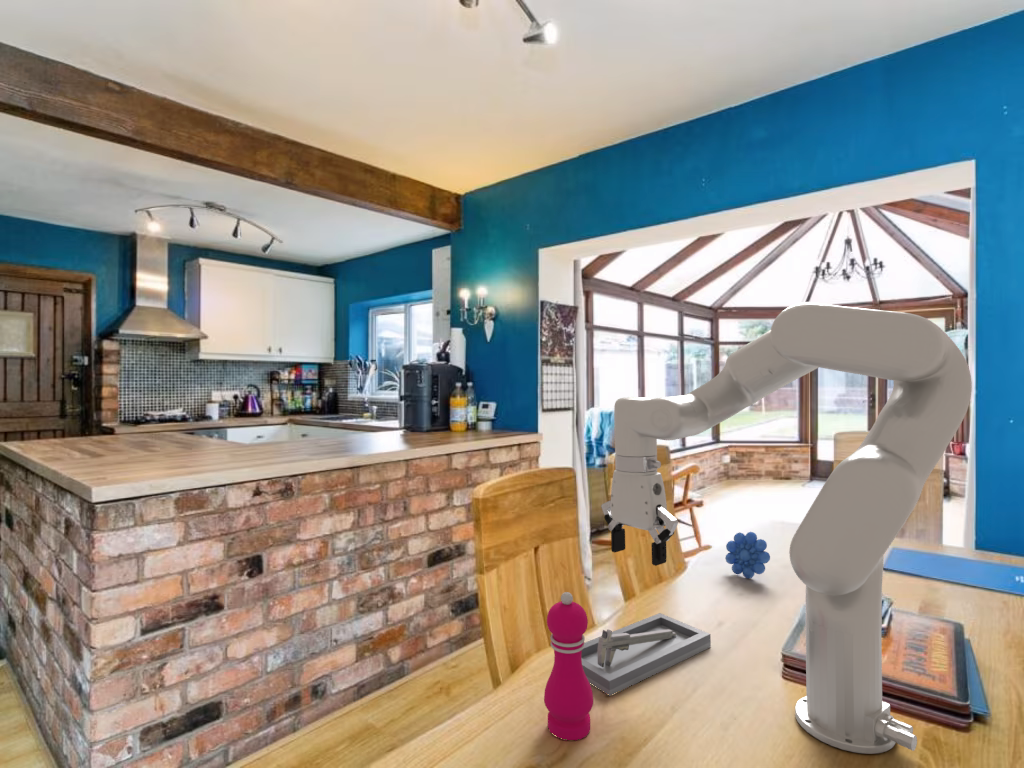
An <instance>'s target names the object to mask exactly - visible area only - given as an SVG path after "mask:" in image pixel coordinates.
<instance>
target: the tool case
mask: <svg viewBox="0 0 1024 768" xmlns="http://www.w3.org/2000/svg"><path fill="white" fill-rule="evenodd" d="M667 629H669V630H672V631H673V632H674V633H676V634H677V635H675V636H672V639H666V640H659V641H652V642H646V643H640V644H633V645H629V649H628V650H623V651H622V650H619V649H616V651H615V654H614V657H613V660H612V663H611V665H610V666H607V665H605V662H604V667H601V666H600V665H598V653H597V648H598V643H599V637H601V636H602V635H600V636H599V637H596V638H593V639H590V640H589V641H586V642H585V641H584V643H585V647H584V648H583V650H582V653H581V659H582V667H583V670H584V672H585V675H586V677H587V679H588V681H589V683H591V684H593V685H594V686H596V687H597V688H599V689H601V690H602V691H604V692H605V693H607V694H609V696H608V697H611V696H610V695H612V694H614V693H616V692H618V691H620V692H622V691H624V690H626V689H628V688H630V687H632V686H634V685H636V684H638V683H640V681H641V682H643V681H644V679H645V680H646V678H647V679H649V678H651V677H653V676H655V675H657V674H658V673H661V672H663V671H664V670H666V669H669V668H671V667H673V666H675V665H677V664H680V663H682V662H684V661H685V660H688V659H689V658H691V657H693V656H696V655H697V654H700V653H702V652H703V651H706V650H708V649H710V648H711V646H712V645H711V643H712V642H711V633H709V632H707V631H705V630H702V629H699V628H697V627H695V626H692V625H690V624H688V623H685V622H683V621H680V620H678V619H676V618H673V617H671V616H668V615H665V614H663V613H661V612H659V613H657V614H654V615H652V616H648V617H645V618H643V619H641V620H639V621H636V622H634V623H631V624H628V625H626V626H624V627H621V628H618V629H616V630H612V634H620V633H628V634H630V635H631V634H638V633H645V632H652V631H659V630H667ZM606 651H607V650H606ZM605 657H606V656H605ZM605 660H606V659H605ZM656 673H657V674H656ZM652 675H653V676H652ZM648 677H649V678H648ZM642 680H643V681H642ZM631 685H632V686H631ZM594 686H593V687H594ZM629 686H630V687H629ZM627 687H628V688H627ZM597 688H596V689H597ZM625 688H626V689H625ZM623 689H624V690H623ZM621 690H622V691H621ZM602 691H601V692H602ZM605 693H604V694H605ZM618 693H619V692H618ZM616 694H617V693H616ZM614 695H615V694H614ZM612 696H613V695H612Z"/></svg>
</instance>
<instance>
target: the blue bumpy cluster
mask: <svg viewBox="0 0 1024 768" xmlns="http://www.w3.org/2000/svg"><path fill="white" fill-rule="evenodd" d="M725 546H726V550H727V552H728V553H727V554H726V555H725V562H726V563H727V564H729V565H731V570H732V573H733V574H735V575H741V574H742V576H743V577H744V578H745V579H752V578H753V577H754V576H755V574H757V575H762V574H763V573H764V572H765V571H766V566H765V564H767V563H769V562H770V560H771V556H770V553H769V552H768V551H765V550H766V549H767V546H768V543H767V541H766V540H764V539H762V538H760V539H759V538H758V536H757V533H755V532H753V531H749V532H747V533H746V534H744V533H742V532H739V531H738V532H736V534H735V535H734V536H733V540H730V541H728V542H727V543H726V545H725Z"/></svg>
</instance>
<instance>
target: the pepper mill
mask: <svg viewBox="0 0 1024 768" xmlns="http://www.w3.org/2000/svg"><path fill="white" fill-rule="evenodd" d="M560 600H561V601H558V602H557V603H556V602H555V604H553V605H552V606H551V607H550V609H549V610H548V612H547V616H546V625H547V628H548V631H549V632H550V633H551V635H550V647H551V649H553V652H554V657H553V658H554V660H553V661H554V662H553V667H552V669H551V672H550V674H549V677H548V680H547V681H546V685H545V688H544V694H543V695H544V697H543V700H544V705H545V708H546V710H547V711H548V713H547V729H548V728H549V729H548V731H549V730H550V731H549V733H550V732H551V733H553V734H554V735H556V736H557V737H559V738H562V739H567V740H575V741H579V740H582V739H583V738H586V737H587V736H588V735H589V733H590V732H591V715H590V712H591V710H592V709H593V706H594V695H593V694H594V693H593V689H592V685H590V683H589V681H588V679H587V677H586V675H585V672H584V670H583V667H582V659H581V653H582V650H583V648H584V647H585V635H584V634H585V633H586V630H587V629H588V624H589V623H588V621H589V620H588V615H587V613H586V610H585V609H584V608H583V606H582V605H580V604H579V603H577V602H575V601H574V597H573V595H572V593H570V592H567V591H565V592H562V593H561V596H560ZM551 733H550V734H551ZM557 737H556V738H557ZM559 738H558V739H559ZM562 739H561V740H562ZM578 739H579V740H578ZM567 740H566V741H567Z"/></svg>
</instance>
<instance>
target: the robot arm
mask: <svg viewBox="0 0 1024 768" xmlns="http://www.w3.org/2000/svg"><path fill="white" fill-rule="evenodd" d="M819 368H821V369H827V370H832V371H837V372H842V373H843V372H844V373H848V374H855V375H861V376H865V377H872V378H876V379H877V378H878V379H882V380H887V381H888V380H889V381H893V386H892V391H891V394H890V396H889V398H888V399H887V401H886V403H885V405H884V406H883V407H882V409H881V410H880V412H879V413H878V416H877V417H876V420H875V421H874V423H873V425H872V427H871V428H870V430H869V431H868V433H867V435H866V436H865V437H864V439H863V440H862V443H861V444H860V446H859V447H858V448H857V449H856V450H855V451H854V452H853V453H852V454H850V455H849V456H846V458H844V459H843V460H842V461H840V462H839V463H838V464H837V465H836V466H835V468H834V469H833V470H832V472H831V473H830V475H829V476H828V477H827V479H826V481H825V482H824V484H823V486H822V487H821V489H820V491H819V492H818V494H817V496H816V497H815V500H814V501H813V502H812V504H811V506H810V507H809V509H808V511H807V513H806V514H805V516H804V517H803V519H802V521H801V522H800V524H799V526H798V527H797V529H796V530H795V533H794V534H793V537H792V538H791V541H790V545H789V553H788V554H789V561H790V565H791V568H792V569H793V572H794V573H795V575H796V577H798V580H799V581H801V582H802V583H803V584H804V585H805V613H804V614H805V672H806V673H805V674H806V675H805V676H806V677H805V679H806V681H805V682H806V685H805V688H806V692H805V693H806V696H803V697H801V698H800V699H798V700H797V702H796V703H795V707H794V708H795V709H794V712H795V719H796V720H797V723H798V724H799V725H800V726H801V728H802V729H803V730H805V731H806V733H808V734H809V735H811V736H812V737H814V738H815V739H817V740H819V741H820V742H823V743H824V744H828V746H831V747H834V748H836V749H837V748H838V749H840V750H843V751H846V752H847V751H848V752H851V753H857V754H868V755H869V754H870V755H871V754H881V753H884V752H888V751H890V750H891V749H893V748H894V746H895V745H896V744H897V745H899V746H901V747H903V748H906V749H907V750H911V751H913V752H914V751H915V750H916V748H917V744H918V737H917V735H916V734H913V732H914V727H913V725H911V724H908V723H906V722H903V721H900V720H898V719H895V718H894V715H891V705H890V703H888V702H886V701H883V669H882V668H883V660H882V659H883V658H882V657H883V653H882V642H883V641H882V629H883V627H882V626H883V619H882V617H883V616H882V615H883V611H882V606H883V605H882V604H883V603H882V601H883V600H882V599H883V598H882V597H883V595H882V594H883V576H884V575H883V574H884V556H885V554H886V552H887V551H888V549H889V547H890V546H891V545H892V543H893V542H894V540H895V538H896V537H897V536H898V534H899V532H900V531H901V530H902V528H903V526H904V525H905V524H906V522H907V520H908V518H909V517H910V516H911V515H912V513H913V512H914V509H915V508H916V506H917V504H918V502H919V499H920V497H921V495H922V492H923V489H924V486H925V484H926V482H927V480H928V479H929V477H930V476H931V473H932V471H933V470H934V469H935V468H936V465H938V463H939V461H940V460H941V458H942V457H943V455H944V453H945V451H946V450H947V448H948V446H949V445H950V442H951V441H952V440H953V438H954V436H955V435H956V433H957V431H958V430H959V428H960V427H961V425H962V422H963V420H964V418H965V417H966V414H967V412H968V410H969V406H970V403H971V397H972V389H973V388H972V375H971V370H970V367H969V364H968V361H967V360H966V358H965V356H964V354H963V352H962V351H961V350H960V348H959V347H958V346H957V344H956V343H955V342H954V341H953V339H952V338H951V337H950V336H949V335H948V334H947V333H946V332H945V331H944V330H943V328H941V327H940V326H938V324H936V323H934V322H933V321H932V320H930V319H928V318H927V317H924V316H921V315H919V314H914V313H910V312H901V311H892V310H882V309H881V310H880V309H873V308H872V309H871V308H863V307H852V306H842V305H835V304H827V303H822V302H821V303H819V302H813V301H811V302H810V301H806V302H805V301H803V302H798V303H795V304H792V305H790V306H788V307H786V308H785V309H784V310H782V311H781V312H780V313H779V314H777V316H776V317H775V319H774V320H773V322H772V324H771V327H770V330H767V331H766V332H765V333H763V334H761V335H760V336H758V337H756V338H755V339H753V340H752V341H750V342H748V343H746V344H745V345H744V346H742V347H740V348H738V349H737V350H735V351H733V352H732V353H730V355H729V356H728V357H727V358H726V360H725V364H724V367H723V368H722V370H720V372H719V373H717V375H716V376H714V377H713V378H712V379H710V380H709V381H707V382H705V383H704V384H702V385H700V386H698V387H697V388H696V389H693V390H692V391H691V392H688V393H686V394H684V395H683V394H682V395H673V396H662V397H657V398H656V397H655V398H650V397H645V396H643V397H642V396H641V397H639V396H631V397H629V396H628V397H620V398H618V399H617V400H616V401H615V402H614V406H613V409H614V450H615V452H614V453H615V455H614V457H615V458H614V461H615V464H614V465H615V470H614V471H613V473H612V480H611V490H610V492H611V493H610V500H608V501H605V502H604V503H602V504H601V509H602V513H603V516H604V517H603V518H604V520H605V522H606V523H607V525H608V526H607V528H608V530H609V531H610V536H611V537H610V538H611V539H610V541H611V542H610V543H611V544H610V545H611V548H610V549H611V552H612V553H617V552H622V551H625V550H626V529H625V528H623V527H624V526H627V527H628V526H629V527H632V528H636V529H638V530H644V531H648V533H649V535H650V536H651V538H652V539H653V542H651V564H652V566H655V567H657V566H660V565H664V564H666V562H667V557H668V556H667V542H668V541H670V539H671V538H672V537H673V536H674V535H675V531H676V529H677V527H678V525H679V521H678V519H677V518H676V517H675V516H673V515H672V514H671V513H670V512H669V511H668V508H667V495H666V487H665V484H664V479H663V475H662V473H661V472H658V469H660V468H661V466H662V462H661V461H660V460H658V446H657V445H658V442H657V440H660V441H675V440H680V439H684V438H688V437H694V436H697V435H699V434H701V433H704V432H706V431H708V430H709V429H711V428H713V427H715V426H717V425H719V424H720V423H723V422H724V421H726V420H728V419H730V418H731V417H733V416H736V414H737V415H738V413H740V412H742V411H743V410H745V409H746V408H748V407H750V406H752V405H755V404H756V403H757V402H759V401H760V400H761V399H764V398H766V397H767V396H768V395H771V394H773V393H774V392H777V391H778V390H779V389H781V388H783V387H785V386H787V385H788V384H791V383H793V382H794V381H796V380H797V379H800V378H802V377H803V376H805V375H808V374H809V373H811V372H813V371H815V370H817V369H819Z"/></svg>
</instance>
